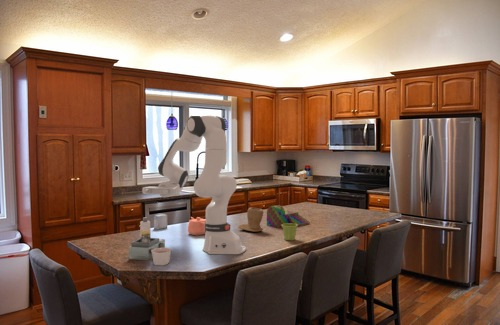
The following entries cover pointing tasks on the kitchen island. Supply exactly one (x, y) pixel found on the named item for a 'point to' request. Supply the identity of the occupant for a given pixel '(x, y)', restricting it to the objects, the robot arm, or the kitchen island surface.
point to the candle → (161, 256)
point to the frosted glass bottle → (145, 230)
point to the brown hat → (253, 220)
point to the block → (283, 217)
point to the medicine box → (160, 221)
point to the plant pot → (289, 231)
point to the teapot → (196, 226)
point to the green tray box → (144, 248)
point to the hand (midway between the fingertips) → (154, 192)
